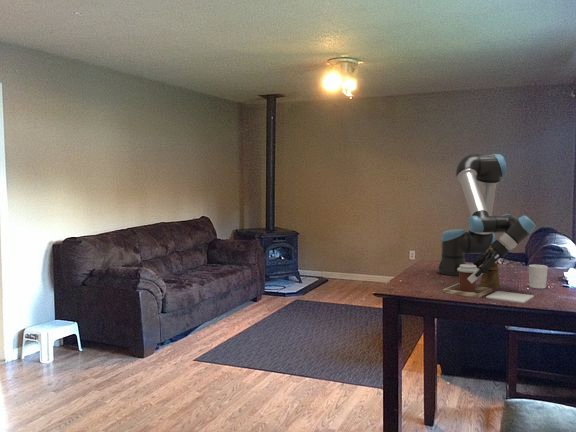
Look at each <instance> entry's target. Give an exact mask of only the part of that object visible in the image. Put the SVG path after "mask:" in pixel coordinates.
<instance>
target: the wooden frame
mask: <svg viewBox="0 0 576 432" xmlns="http://www.w3.org/2000/svg"><path fill="white" fill-rule="evenodd" d="M458 287H459V288H458ZM455 288H456V289H460V284H459V283H456V284H453V285H450V286H448V287H445V288H443V289H442V293H443V292H445V293H444V294H449V293H450V294H451V295H456V296H462V297H471V298H477V299H479V298H481V297H483V296H485V295H489V294H491V293H493V288H486V287H481V286H480V285H479V286H477V285H476V287H475V291H480V292H478V293H476V292H475V293H470V292H463V291H460V290H456V289H455ZM452 289H453V290H452ZM450 294H449V295H450Z"/></svg>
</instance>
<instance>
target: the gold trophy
mask: <svg viewBox="0 0 576 432" xmlns="http://www.w3.org/2000/svg"><path fill="white" fill-rule="evenodd" d="M489 249H490V250H492V249H493V248H492V247H490V248H488V249H487V250H486V252H487V251H488V250H489ZM499 277H500V276H499V266H498V263H497V262H495V263H494V264H493V266H492V267H491V268H490V269H489V270H488V272H487V273H483V274H482V275H481V279H480V282H479V283H480V285H479V287H486V288H492V289H499V288H501V283H500V278H499Z"/></svg>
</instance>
